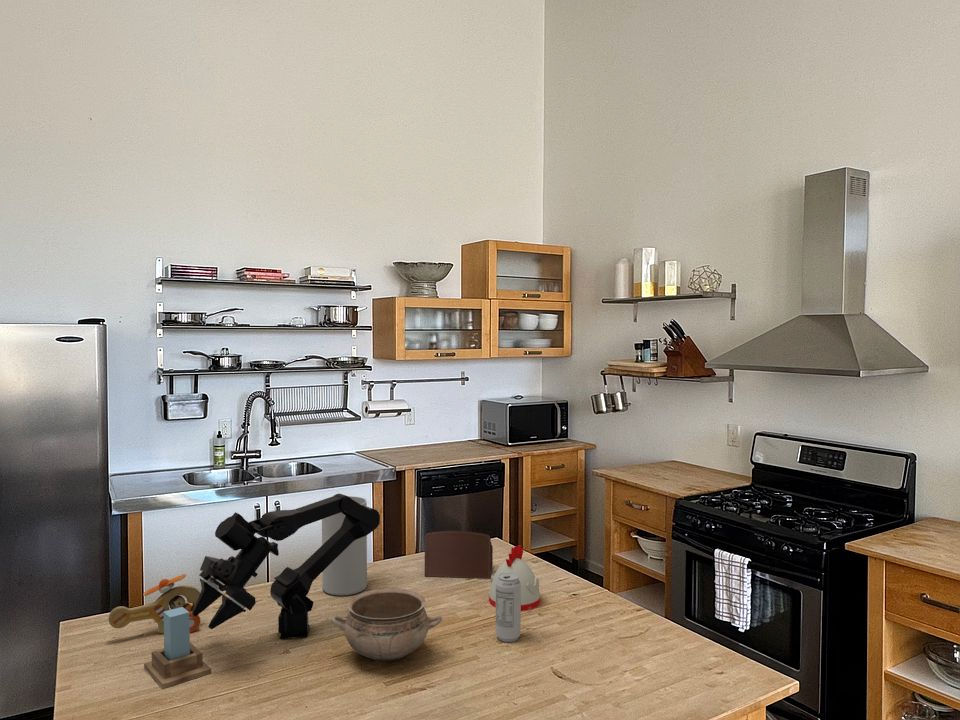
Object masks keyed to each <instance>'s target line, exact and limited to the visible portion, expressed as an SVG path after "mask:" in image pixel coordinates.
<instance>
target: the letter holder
mask: <svg viewBox="0 0 960 720" xmlns="http://www.w3.org/2000/svg"><path fill="white" fill-rule="evenodd" d="M491 539H492V538H491V536H490V535H489V534H487V533H481V532H476V531H475V532H474V531H473V532H472V531H464V530H442V531H431V532H427V533H426V534H425V535H424V574H423V575H424V577H426V578H448V577H450V579H451V578H452V579H455V578H456V579H475V578H476V579H479V580H480V579H481V580H491V576H492V573H493V572H492V571H493V568H494V567H493V563H494V562H493V558H494V557H493V553H494V552H493V551H494V548H493V545H492V544H493V543H492V540H491Z"/></svg>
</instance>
